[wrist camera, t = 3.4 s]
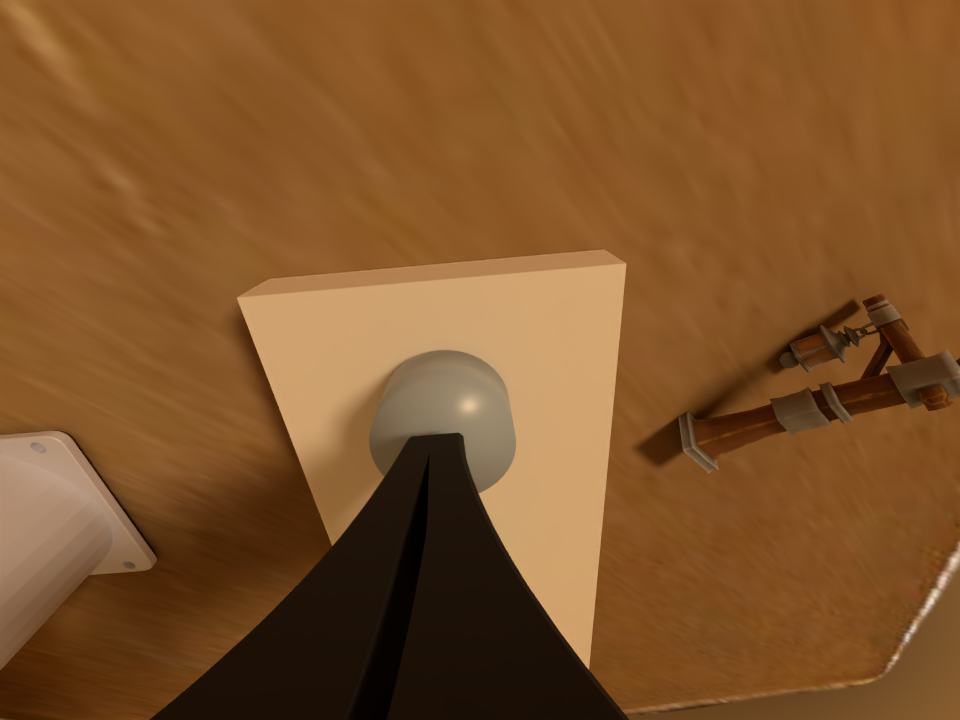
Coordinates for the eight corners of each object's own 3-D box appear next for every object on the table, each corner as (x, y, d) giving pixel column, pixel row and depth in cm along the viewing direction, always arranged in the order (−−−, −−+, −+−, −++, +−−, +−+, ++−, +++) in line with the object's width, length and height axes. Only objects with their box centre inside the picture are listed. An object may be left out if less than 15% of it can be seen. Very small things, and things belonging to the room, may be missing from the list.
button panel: (398, 663, 24) (392, 704, 22) (269, 278, 13) (236, 297, 11) (577, 649, 23) (586, 689, 22) (603, 249, 12) (626, 263, 11)
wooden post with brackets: (930, 301, 13) (1029, 405, 10) (694, 391, 18) (710, 478, 15) (908, 265, 12) (1007, 364, 9) (671, 370, 18) (683, 455, 14)
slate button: (395, 459, 13) (384, 505, 11) (371, 355, 11) (354, 391, 10) (512, 450, 13) (518, 494, 11) (506, 344, 11) (513, 378, 10)
